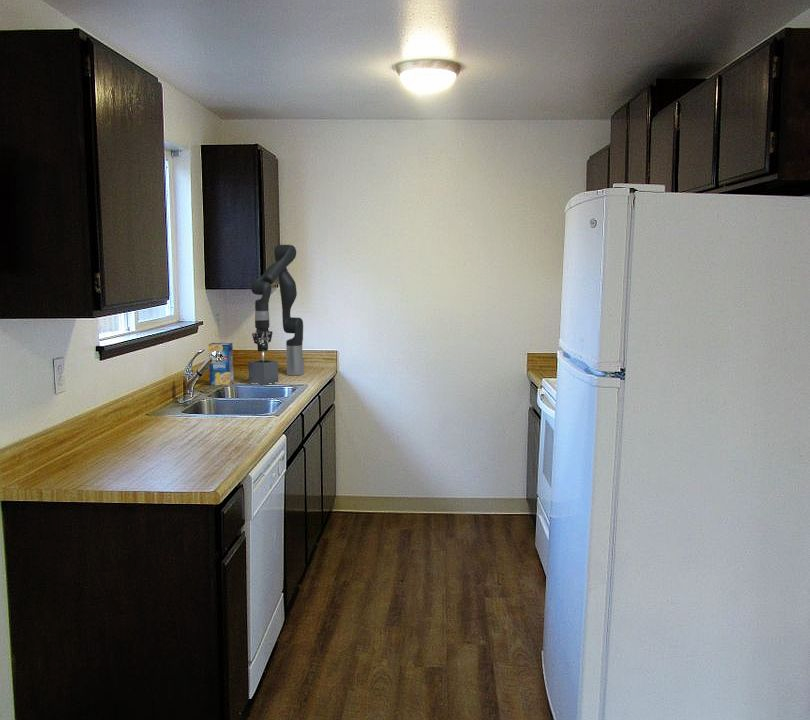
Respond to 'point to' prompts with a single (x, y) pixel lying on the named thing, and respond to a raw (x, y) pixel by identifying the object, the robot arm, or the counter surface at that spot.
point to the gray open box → (263, 371)
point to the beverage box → (221, 364)
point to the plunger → (264, 346)
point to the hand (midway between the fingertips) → (262, 350)
